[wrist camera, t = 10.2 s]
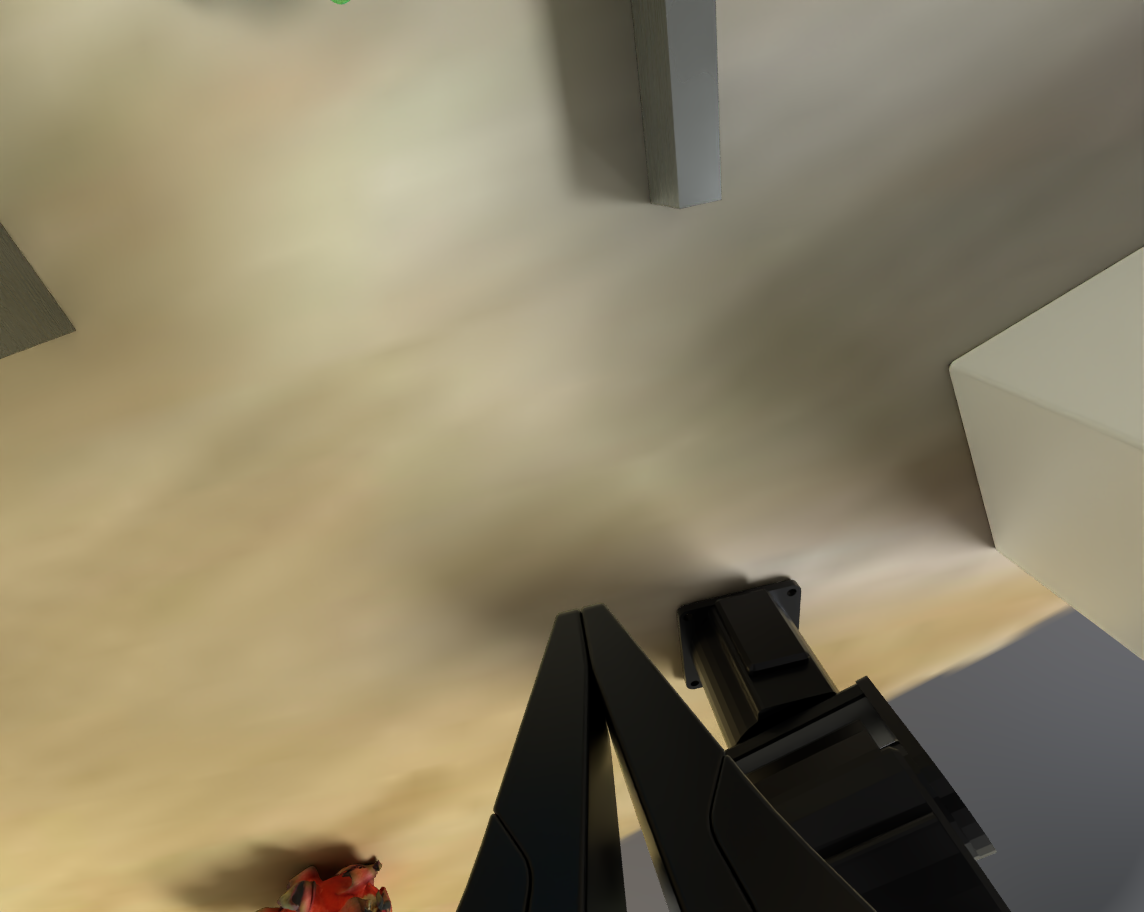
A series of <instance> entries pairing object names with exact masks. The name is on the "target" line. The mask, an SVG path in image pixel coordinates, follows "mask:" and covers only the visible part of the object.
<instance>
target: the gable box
mask: <svg viewBox="0 0 1144 912" xmlns="http://www.w3.org/2000/svg"><path fill="white" fill-rule="evenodd" d="M949 372H950V376H951V380H952V383H953V387H954V391H955V395H956V399H957V402H958V406H959V410H960V414H961V418H962V422H963V425H964V429H965V433H966V437H967V441H968V445H969V448H970V452H971V456H972V460H973V464H974V467H975V471H976V475H977V479H978V483H979V487H980V490H981V494H982V498H983V502H984V506H985V509H986V513H987V517H988V521H989V525H990V529H991V532H992V536H993V540H994V544H995V548H996V550H997V551H998V552H999V553H1001V554H1002V555H1003V556H1005V557H1006V558H1007V559H1009V560H1010V561H1011V562H1013V563H1014V564H1015V565H1017V566H1018V567H1019V568H1021V569H1022V570H1023V571H1025V572H1026V573H1027V574H1029V575H1030V576H1031V577H1033V578H1034V579H1035V580H1037V581H1038V582H1039V583H1041V584H1042V585H1043V586H1045V587H1046V588H1047V589H1049V590H1050V591H1051V592H1053V593H1054V594H1055V595H1057V596H1058V597H1059V598H1061V599H1062V600H1063V601H1065V602H1066V603H1067V604H1069V605H1070V606H1071V607H1073V608H1074V609H1075V610H1077V611H1078V612H1080V613H1081V614H1082V615H1083V616H1085V617H1086V618H1088V619H1089V620H1090V621H1092V622H1093V623H1094V624H1096V625H1097V626H1098V627H1100V628H1101V629H1102V630H1104V631H1105V632H1106V633H1108V634H1109V635H1110V636H1112V637H1113V638H1114V639H1116V640H1117V641H1118V642H1120V643H1121V644H1122V645H1124V646H1125V647H1126V648H1128V649H1129V650H1130V651H1132V652H1133V653H1135V654H1136V655H1137V656H1138V657H1140V658H1141V659H1142V660H1144V247H1142V248H1141V249H1139V250H1137V251H1136V252H1134V253H1132V254H1131V255H1129V256H1127V257H1126V258H1124V259H1122V260H1121V261H1119V262H1117V263H1116V264H1114V265H1112V266H1111V267H1109V268H1107V269H1106V270H1104V271H1102V272H1101V273H1099V274H1097V275H1096V276H1094V277H1092V278H1091V279H1089V280H1087V281H1086V282H1084V283H1082V284H1081V285H1079V286H1078V287H1076V288H1074V289H1073V290H1071V291H1069V292H1068V293H1066V294H1064V295H1063V296H1061V297H1059V298H1058V299H1056V300H1054V301H1053V302H1051V303H1049V304H1048V305H1046V306H1044V307H1043V308H1041V309H1039V310H1038V311H1036V312H1034V313H1033V314H1031V315H1029V316H1028V317H1026V318H1024V319H1023V320H1021V321H1019V322H1018V323H1016V324H1014V325H1013V326H1011V327H1009V328H1008V329H1006V330H1005V331H1003V332H1001V333H1000V334H998V335H996V336H995V337H993V338H991V339H990V340H988V341H986V342H985V343H983V344H981V345H980V346H978V347H976V348H975V349H973V350H971V351H970V352H968V353H966V354H965V355H963V356H961V357H960V358H958V359H956V360H955V361H953V362H952V363H951V365H950V366H949Z"/></svg>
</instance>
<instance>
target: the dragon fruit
mask: <svg viewBox="0 0 1144 912" xmlns="http://www.w3.org/2000/svg"><path fill="white" fill-rule="evenodd" d="M381 867H382V864H381V863H380V862H379V860H378V861H376V863H375V864H372V865H363V864H355V865H349V866H348V867H346V868H345V867H344V868H343V869H341V870H340V871H339V872H338V873H337V874H335V875H338V876H335V877H332V878H330V879H327V880H325V881H322V880H321V879H320V877H319V873H318V871H317V870H316V868H315V867H314V866H310V867H308V868H306V869H305V870H304V871H302V872H301V873H299V874H298V875H297V876H295V877H293V878H292V879H291V880H289V884H288V885H287V892H286V893H285V894H284V895H283V896H281V897H280V898H279V900H278V901H277V903H278V904H279V905H280V908H268V907H265V908H262V909H260V910H258V911H256V912H392V906H391V901H390V899H389V896H388V893H387V891H386V888H385V887H381V889H380V890H378V889H377V888H376V887H375V886H374V878H375V877H376V874H378V871H380V869H381ZM339 874H340V875H339Z"/></svg>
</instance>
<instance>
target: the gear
mask: <svg viewBox="0 0 1144 912" xmlns="http://www.w3.org/2000/svg"><path fill="white" fill-rule="evenodd" d="M331 1H333V2H334V3H337V4H345V3H347V2H349V1H350V0H331Z"/></svg>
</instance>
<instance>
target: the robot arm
mask: <svg viewBox="0 0 1144 912" xmlns="http://www.w3.org/2000/svg"><path fill="white" fill-rule="evenodd" d="M800 600H801V588H800V586H799V585H798V584H797V582H796V581H794V580H787V581H783V582H779V583H774V584H770V585H766V586H762V587H758V588H754V589H749V590H745V591H741V592H737V593H733V594H729V595H724V596H720V597H716V598H712V599H708V600H704V601H699V602H695V603H691V604H687V605H684V606H681V607H680V608H679V609H678V610H677V622H678V631H679V639H680V648H681V657H682V665H683V674H684V680H685V683H686V686H687V688H689V689H697V688H701V687H703V688H704V690H705V693H706V695H707V698H708V700H709V703H710V705H711V708H712V710H713V713H714V715H715V718H716V720H717V722H718V725H719V727H720V730H721V732H722V735H723V737H724V740H725V742H726V745H727V747H728V749H727V750H725V751H724V749H723V748H722V747H721V746H720V744H719V743H718V742H717V741H716V740H715V738H714V737H713V736H712V735H711V733H710V732H709V731H708V730H707V729H706V727H705V726H704V725H703V724H702V722H701V721H700V720H699V719H698V718H697V716H696V715H695V714H694V713H693V711H692V710H691V709H690V708H689V707H688V705H687V704H686V703H685V702H684V701H683V699H682V698H681V697H680V696H679V694H678V693H677V692H676V691H675V690H674V688H673V687H672V686H671V685H670V683H669V682H668V681H667V680H666V679H665V677H664V676H663V675H662V674H661V672H660V671H659V670H658V669H657V668H656V666H655V665H654V664H653V663H652V662H651V660H650V659H649V658H648V657H647V655H646V654H645V653H644V652H643V651H642V649H641V648H640V647H639V646H638V644H637V643H636V642H635V641H634V640H633V638H632V637H631V636H630V635H629V633H628V632H627V631H626V630H625V629H624V627H623V626H622V625H621V624H620V623H619V621H618V620H617V619H616V618H615V616H614V615H613V614H612V613H611V612H610V610H609V609H608V608H607V607H606V606H605V605H604V604H603V603H598V604H593V605H589V606H585V607H583V608H582V610H581V611H580V610H579V609H573V610H569V611H565V612H561V613H559V614H558V615H557V617H556V619H555V622H554V625H553V628H552V631H551V634H550V637H549V640H548V643H547V646H546V649H545V652H544V655H543V658H542V662H541V665H540V668H539V671H538V674H537V677H536V680H535V683H534V686H533V689H532V692H531V695H530V698H529V701H528V704H527V707H526V710H525V713H524V716H523V719H522V722H521V725H520V728H519V732H518V735H517V738H516V741H515V744H514V747H513V750H512V753H511V756H510V759H509V762H508V765H507V768H506V771H505V774H504V777H503V780H502V783H501V786H500V789H499V792H498V795H497V799H496V802H495V805H494V808H493V811H494V813H495V814H492V815H491V816H490V819H489V822H488V825H487V828H486V831H485V834H484V837H483V840H482V843H481V846H480V849H479V852H478V855H477V858H476V860H475V863H474V866H473V869H472V872H471V874H470V877H469V880H468V883H467V886H466V888H465V891H464V893H463V896H462V898H461V900H460V903H459V905H458V908H457V910H456V912H627V909H626V899H625V888H624V878H623V868H622V857H621V847H620V837H619V826H618V816H617V806H616V796H615V785H614V775H613V765H612V755H611V746H610V738H609V733H610V736H611V739H612V743H613V746H614V749H615V752H616V755H617V758H618V761H619V764H620V767H621V770H622V773H623V776H624V779H625V782H626V785H627V788H628V791H629V794H630V797H631V800H632V803H633V806H634V809H635V812H636V815H637V817H638V820H639V823H640V826H641V829H642V832H643V835H644V838H645V841H646V844H647V847H648V850H649V853H650V856H651V859H652V862H653V865H654V868H655V871H656V873H657V877H658V880H659V883H660V886H661V889H662V892H663V895H664V898H665V900H666V903H667V906H668V909H669V912H1011V911H1010V910H1009V908H1008V907H1007V905H1006V904H1005V902H1004V901H1003V900H1002V898H1001V897H1000V895H999V894H998V892H997V891H996V889H995V888H994V886H993V885H992V884H991V882H990V881H989V879H988V878H987V876H986V875H985V873H984V872H983V871H982V869H981V868H980V867H979V865H978V863H977V862H976V860H978V859H981V858H984V857H986V856H989V855H991V854H993V853H996V850H995V848H994V847H993V845H992V843H991V842H990V841H989V839H988V838H987V836H986V835H985V833H984V832H983V830H982V829H981V827H980V826H979V824H978V823H977V822H976V820H975V819H974V817H973V816H972V814H971V813H970V811H968V809H967V807H966V806H965V804H964V803H963V802H962V800H961V799H960V797H959V796H958V795H957V793H956V792H955V791H954V789H953V788H952V786H951V785H950V784H949V782H948V781H947V780H946V778H945V777H944V776H943V774H942V773H941V772H940V770H939V769H938V768H937V766H936V765H935V763H934V762H933V761H932V760H931V758H930V757H929V756H928V754H927V753H926V752H925V750H924V749H923V748H922V747H921V746H920V744H919V743H918V741H917V740H916V739H915V737H914V736H913V735H912V734H911V733H910V731H909V730H908V728H907V727H906V726H905V725H904V723H903V722H902V721H901V719H900V718H899V717H898V715H897V714H896V713H895V712H894V710H893V709H892V708H891V706H890V705H889V704H888V703H887V701H886V700H885V699H884V697H883V696H882V695H881V693H880V692H879V691H878V690H877V688H876V687H875V686H874V684H873V683H872V682H871V681H870V679H869V678H868V677H867V676H865V677H863V678H861V679H859V680H857V681H855V682H856V684H854V685H852V686H850V687H849V688H847V689H845V690H843V691H841V692H839V690H838V689H837V687H836V686H835V684H834V683H833V681H832V680H831V678H830V677H829V675H828V674H827V672H826V671H825V669H824V668H823V666H822V665H821V663H820V662H819V660H818V659H817V657H816V656H815V654H814V653H813V651H812V650H811V648H810V647H809V645H808V644H807V642H806V641H805V639H804V638H803V636H802V635H801V633H800V632H799V615H800ZM607 726H608V727H607ZM608 729H609V732H608ZM893 741H895V742H894V743H892V744H890V745H888V746H886V747H883V746H885V745H887V744H889V743H891V742H893ZM881 747H883V748H881ZM880 748H881V749H880Z"/></svg>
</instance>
